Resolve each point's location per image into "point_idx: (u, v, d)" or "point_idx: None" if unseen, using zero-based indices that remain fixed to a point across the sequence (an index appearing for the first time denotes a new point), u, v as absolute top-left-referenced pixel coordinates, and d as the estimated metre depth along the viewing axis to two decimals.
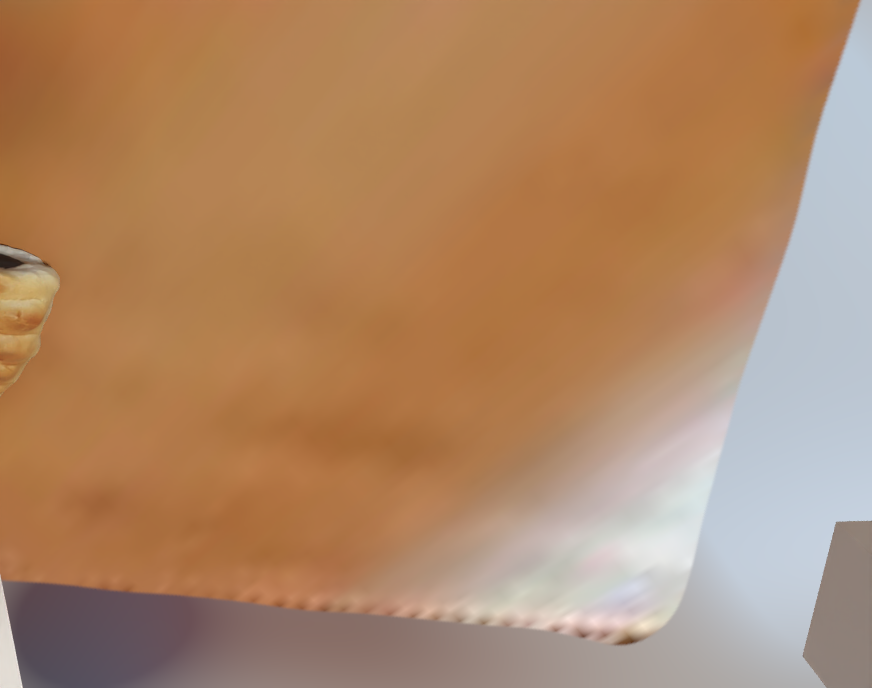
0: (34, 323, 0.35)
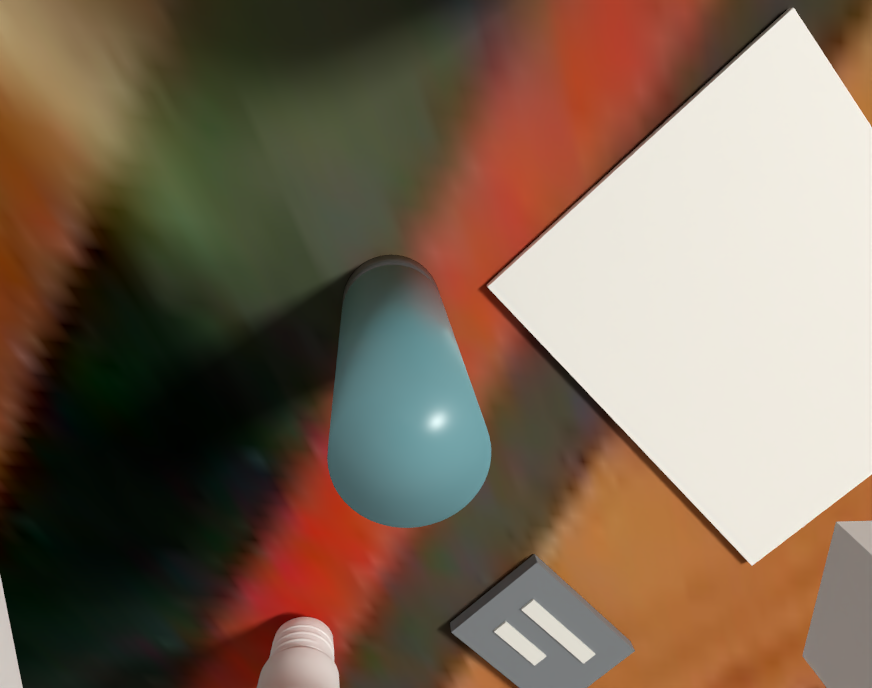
0: None
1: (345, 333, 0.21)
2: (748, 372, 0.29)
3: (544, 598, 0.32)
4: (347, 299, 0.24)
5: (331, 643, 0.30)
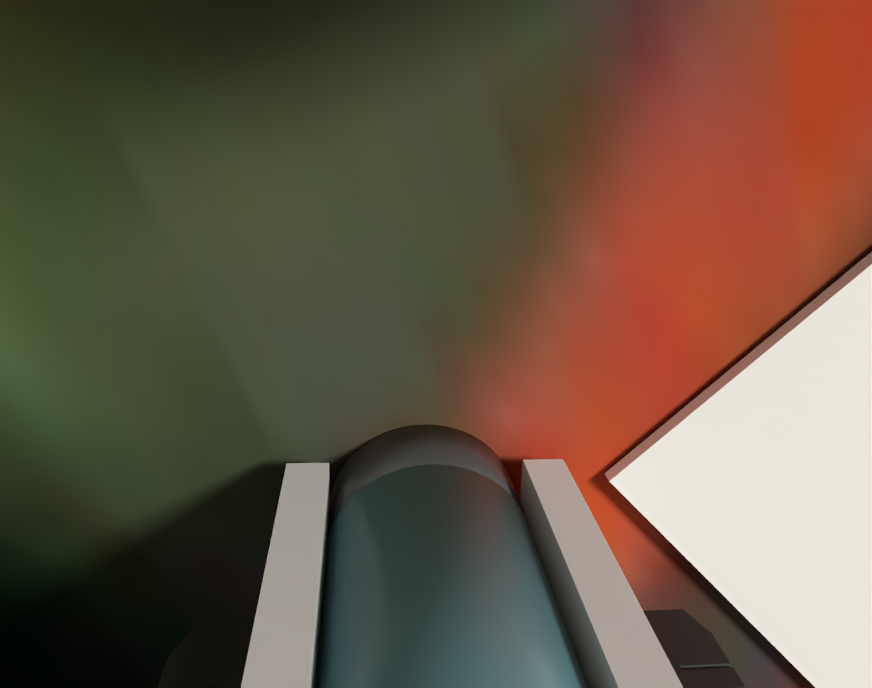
0: None
1: None
2: None
3: None
4: (335, 557, 0.11)
5: None
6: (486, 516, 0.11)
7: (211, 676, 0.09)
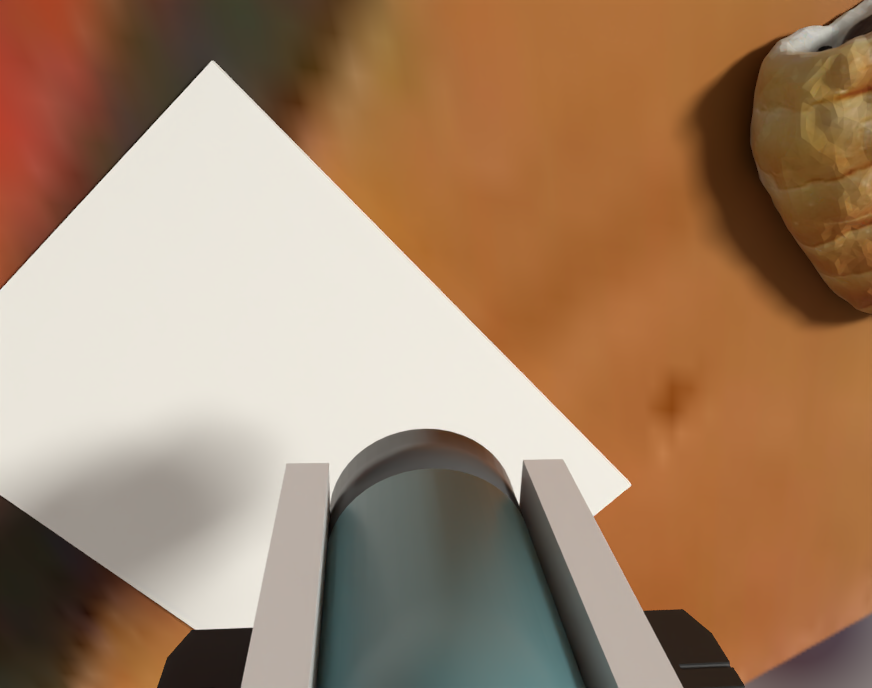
0: None
1: None
2: (271, 508, 0.23)
3: None
4: (335, 562, 0.11)
5: None
6: (486, 521, 0.11)
7: (211, 676, 0.09)
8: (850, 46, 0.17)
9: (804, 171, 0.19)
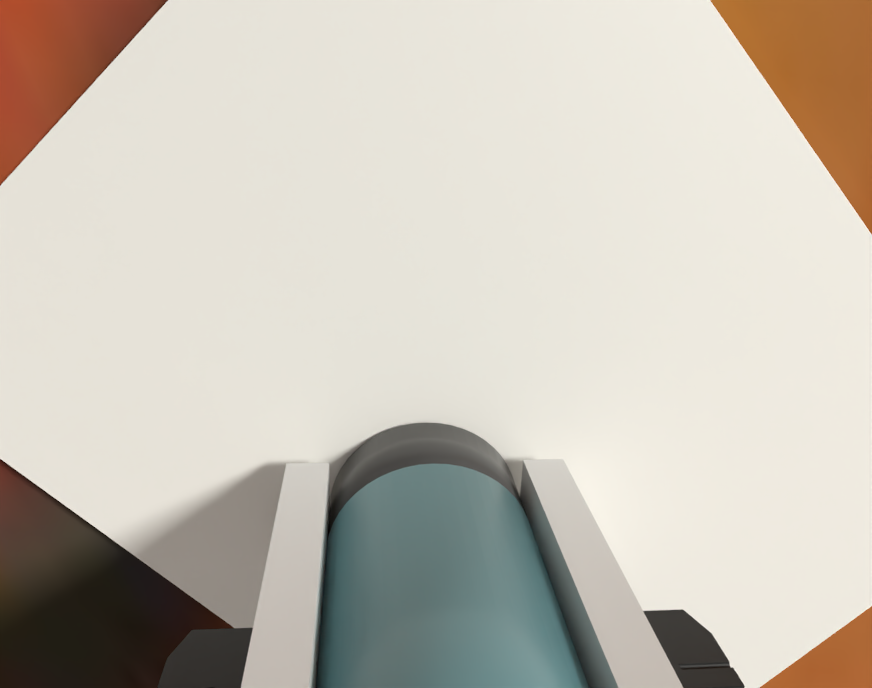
0: None
1: None
2: None
3: None
4: (335, 558, 0.11)
5: None
6: (488, 517, 0.11)
7: (211, 676, 0.09)
8: None
9: None
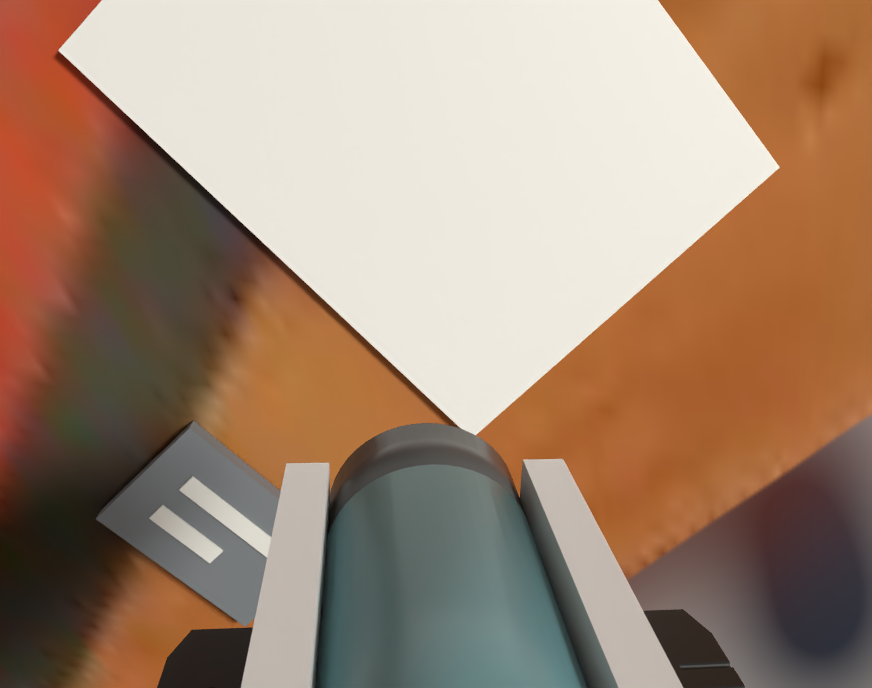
0: None
1: None
2: (426, 178, 0.23)
3: (207, 476, 0.26)
4: (334, 560, 0.11)
5: None
6: (486, 518, 0.11)
7: (211, 676, 0.09)
8: None
9: None
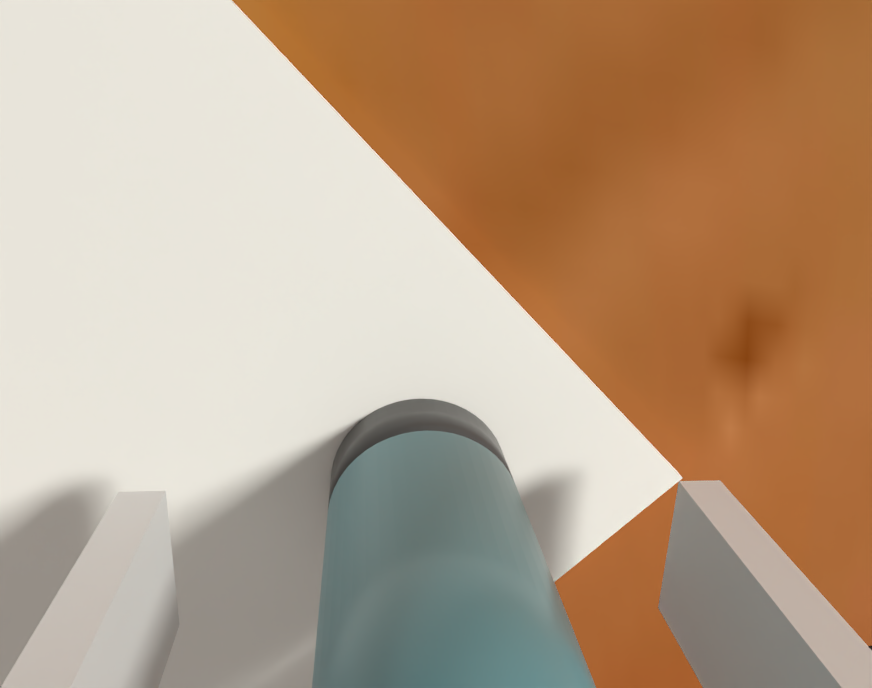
0: None
1: (327, 674, 0.09)
2: None
3: None
4: (336, 514, 0.12)
5: None
6: (476, 473, 0.12)
7: None
8: None
9: None
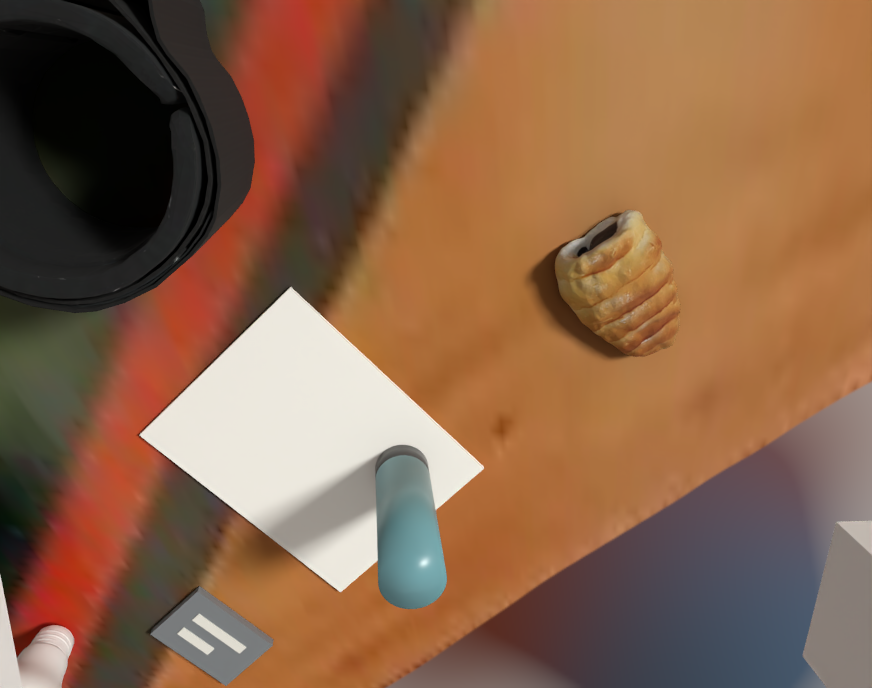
0: (660, 242, 0.44)
1: (380, 507, 0.43)
2: (310, 479, 0.49)
3: (206, 613, 0.52)
4: (379, 477, 0.47)
5: (68, 641, 0.50)
6: (415, 467, 0.47)
7: None
8: (580, 259, 0.43)
9: (578, 304, 0.45)
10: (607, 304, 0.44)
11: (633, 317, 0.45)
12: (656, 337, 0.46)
